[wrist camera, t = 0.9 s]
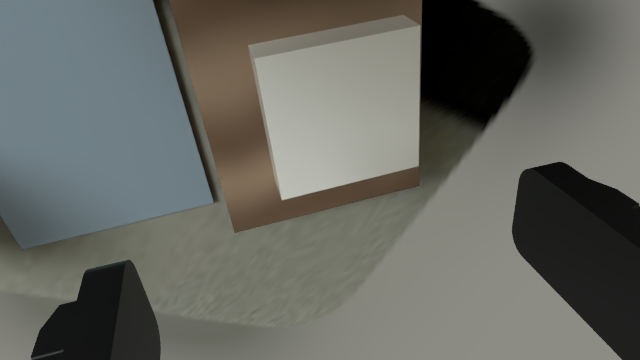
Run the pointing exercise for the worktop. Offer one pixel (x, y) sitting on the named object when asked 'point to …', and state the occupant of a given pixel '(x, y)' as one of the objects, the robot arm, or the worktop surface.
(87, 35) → the mat
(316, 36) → the coaster
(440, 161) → the worktop surface
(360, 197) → the stand
